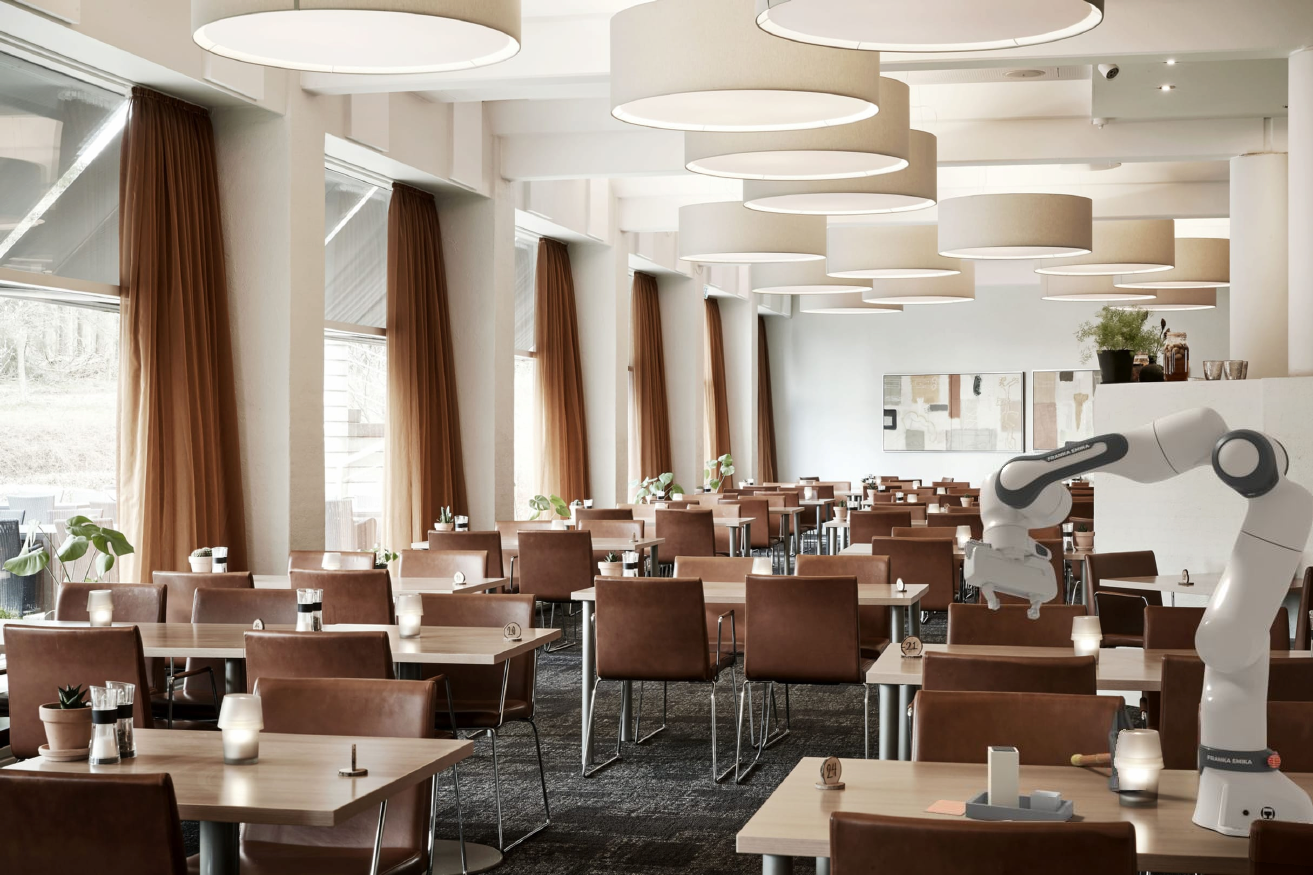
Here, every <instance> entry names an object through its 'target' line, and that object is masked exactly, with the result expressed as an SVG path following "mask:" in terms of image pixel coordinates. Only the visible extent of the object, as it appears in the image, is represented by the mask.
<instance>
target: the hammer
mask: <svg viewBox="0 0 1313 875" xmlns="http://www.w3.org/2000/svg"><path fill="white" fill-rule="evenodd" d="M1129 714H1130V713H1129V712H1128V709H1125V710H1124V709H1123V710H1122V709H1121V710H1119V709H1116V710H1115V712H1114V717H1113V721H1112V725H1111V729H1110V732H1109V733H1108V742H1109V751H1110V752H1109V753H1108V752H1107V753H1101V752H1100V753H1096V754H1091V755H1090V754H1089V755H1082V754H1081V753H1077V754H1074V755H1072V756H1071V758H1070V762H1071V764H1072V765H1073V766H1075V767H1082V766H1084V765H1086V764H1097V763H1098V764H1103V763H1109V762H1110V764H1111V767H1110V768H1111V776H1110V777H1108V778H1107V779H1106V782H1107V788H1108V790H1110V791H1112V792H1120V791H1119V777H1118V772H1117V769H1116V768H1115V766H1114V758H1115V751H1116V744H1117V739H1118V735H1119V732H1120V731H1121V730H1123V729H1126V730H1135V731H1136V729H1135V726H1134V724H1133V721H1132V720H1131V717H1130V715H1129Z"/></svg>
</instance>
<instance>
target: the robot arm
mask: <svg viewBox="0 0 1313 875" xmlns="http://www.w3.org/2000/svg"><path fill="white" fill-rule="evenodd" d="M1289 461H1290V460H1289V455H1288V453H1287V450H1286V449H1285V447H1284V445H1283V444H1282V443H1281V442H1279V441H1278V440H1277V439H1276V438H1274V437H1272V436H1271V435H1269V434H1267V433H1266V432H1263V431H1259V430H1255V429H1248V428H1241V429H1235V430H1231V429H1230V428H1229V427H1228V425H1227V423H1226V422H1225V420H1224V418H1223V417H1222V415H1221V414H1220V413H1218V412H1217V411H1216V410H1215V409H1213V408H1211V407H1208V406H1198V407H1193V408H1189V409H1185V410H1181V411H1178V412H1175V413H1174V412H1173V413H1172V414H1168V415H1166V416H1163V417H1161V418H1158V419H1156V420H1154V421H1151V422H1149V423H1147V424H1143V425H1140V426H1137V427H1135V428H1131V429H1128V430H1124V431H1120V432H1119V431H1118V432H1113V433H1106V434H1101V435H1096V436H1093V437H1091V438H1087V439H1084V440H1081V441H1077V442H1074V443H1072V444H1068V445H1065V446H1062V447H1059V448H1057V449H1053V450H1050V451H1047V452H1045V453H1040V454H1034V455H1019V456H1015V457H1013V458H1011V459H1009V460H1008V461H1006V462H1005V463H1004V464H1003V465H1002V466H1001V467H1000V468H999V470H998V471H994V472H992V473H990V474H988V475H987V476H986V477H985V478H984V479H983V481H982V482H981V484H980V488H979V513H980V520H981V523H982V525H983V530H982V541H979V540H976V539H970V540H968V541H966V542H965V543H964V544H963V550H964V560H963V561H964V562H963V576H964V577H963V578H964V580H965V582H966V583H967V585H970V586H974V587H978V588H981V593H982V595H983V596H984V598H985V600H986V601H987V605H988V609H991V610H994V611H997V610H998V609H1000V607H1001V603H1000V602H1001V601H1000V598H998V597H996V594H995V593H994V592H999V593H1002V594H1007V595H1011V596H1015V597H1020V598H1023V599H1028V600H1029V601H1030V602H1029V604H1031V605H1032V606H1031V607H1030V608H1028V609H1027V618H1028V619H1032V620H1036V619H1038V618H1040V615H1041V614H1040V609H1041V606H1042V604H1043V603H1044V604H1045V603H1048V602H1050V601H1052V600H1053V599H1055V598H1056V596H1058V595H1057V594H1058V583H1057V582H1058V581H1057V578H1056V572H1055V568H1054V567H1053V564H1052V563H1051V562H1050V560H1051V559H1052V558H1053V557H1052V556H1053V555H1052V552H1051V550H1050V549H1049V548H1047V547H1045V546H1044V545H1042V544H1041V543H1039V542H1037V540H1035V539H1034V538H1033V537H1031V536H1030V535H1029V530H1041V529H1042V530H1043V529H1046V528H1047V529H1048V528H1053V527H1056V526H1058V525H1061V523H1063V522H1064V521H1065V520H1066V519H1067V518H1068V517H1069V515H1070V513H1071V511H1072V507H1073V496H1072V493H1071V491H1070V490H1069V489H1068V488H1067V487H1066V486H1065V485H1064V484H1063V483H1064V482H1066V481H1069V480H1073V479H1075V478H1079V477H1081V476H1084V475H1087V474H1088V475H1089V474H1091V473H1107V474H1111V475H1116V476H1120V477H1123V478H1126V479H1129V480H1131V481H1134V482H1137V483H1140V484H1154V483H1158V482H1159V483H1160V482H1163V481H1166V480H1169V479H1171V478H1175V477H1177V476H1179V475H1182V474H1184V473H1186V472H1189V471H1190V470H1191V471H1192V470H1194V469H1195V468H1198V467H1199V468H1200V467H1204V466H1212V468H1213V470H1214V473H1215V475H1216V476H1217V477H1218V478H1219V479H1220V480H1221V482H1222V483H1224V484H1226V485H1227V487H1230V488H1231V489H1232V490H1233V491H1235V492H1236V493H1238V494H1240V495H1241V496H1242V497H1243V498H1245V499H1247V502H1248V507H1247V511H1246V515H1245V517H1244V520H1243V522H1242V524H1241V528H1240V530H1239V532H1238V535H1237V538H1236V541H1235V543H1234V545H1233V548H1232V551H1231V553H1230V556H1229V559H1228V560H1227V561H1228V562H1227V563H1226V566H1225V568H1224V571H1223V573H1222V575H1221V577H1220V579H1219V581H1218V583H1217V585H1216V587H1215V590H1214V591H1213V594H1212V596H1211V597H1210V600H1209V602H1208V604H1207V606H1206V608H1205V611H1204V613H1203V616H1202V618H1201V620H1200V623H1199V625H1198V627H1197V629H1196V632H1195V636H1194V645H1195V650H1196V653H1197V655H1198V657H1199V658H1200V659H1201V661H1202V662H1203V663H1204V664H1205V667H1204V674H1203V676H1204V677H1203V685H1202V692H1201V693H1202V694H1201V698H1200V723H1201V724H1200V728H1201V729H1200V743H1199V744H1198V750H1197V770H1198V774H1199V775H1200V776H1199V785H1198V786H1199V787H1198V794H1197V800H1196V805H1195V809H1194V812H1193V816H1192V818H1191V821H1192V822H1193V823H1194V824H1196V825H1198V826H1200V827H1202V828H1203V827H1204V828H1207V829H1211V830H1214V831H1217V832H1218V833H1220V834H1224V835H1227V836H1239V837H1249V830H1250V825H1251V823H1252V821H1254V820H1256V819H1270V820H1281V821H1292V822H1298V823H1309V824H1313V803H1312V799H1311V798H1310V796H1309V795H1308V793H1307V792H1306V791H1305V790H1304V789H1303V788H1301V786H1299V785H1297V784H1296V783H1295V782H1294V781H1293V780H1291V779H1290V778H1288V776H1286V775H1285V774H1284V773H1282V772H1281V771H1280V770H1279V769H1280V765H1281V758H1280V755H1279V754H1278V753H1279V752H1277V751H1276V750H1275V751H1273V750H1272V749H1270V748H1269V747H1267V743H1268V742H1267V739H1268V738H1267V735H1268V734H1267V730H1268V728H1267V725H1268V724H1267V723H1268V722H1267V700H1268V687H1269V675H1270V657H1271V656H1270V655H1271V653H1270V651H1271V634H1270V629H1271V627H1272V625H1273V622H1274V621H1275V619H1276V617H1277V615H1278V612H1279V610H1280V608H1281V606H1282V604H1283V601H1284V600H1285V598H1286V596H1287V594H1288V592H1289V589H1290V586H1291V584H1292V582H1293V579H1294V576H1295V574H1296V573H1297V572H1296V571H1297V569H1298V565H1300V561H1301V558H1302V556H1303V554H1304V551H1305V549H1306V545H1307V544H1308V539H1309V536H1310V534H1311V530H1312V525H1313V494H1312V493H1311V492H1310V491H1309V490H1308V489H1307V488H1305V487H1304V486H1302V484H1299V483H1298V482H1297V483H1296V482H1293V481H1292V480H1290V479H1288V478H1287V473H1288V471H1289V467H1290V466H1289V465H1290V463H1289Z"/></svg>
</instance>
